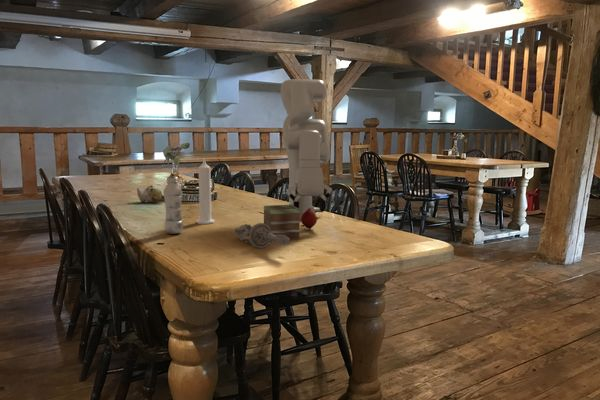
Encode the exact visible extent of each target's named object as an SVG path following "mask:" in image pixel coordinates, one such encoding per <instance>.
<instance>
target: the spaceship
mask: <svg viewBox="0 0 600 400" xmlns="http://www.w3.org/2000/svg"><path fill="white" fill-rule="evenodd" d="M260 230H261V231H260ZM264 230H265V232H264ZM234 232H235V234H236V237H237V238H238V239H239V240H240V242H243V243H249V242H250V243H251V245H252V246H253V247H254V248H257V249H264V248H265V247H267V246H268V245H269V244H270V245H274V242H275V243H279V244H281V245H285V246H289V245H290V244H291V239H289V238H288V237H286V236H283V235H274V234H272V233H271V229H270V228H269V226H268V225H266V224H264V222H257V223H256V224H254V225H253V226H251V224H247V223H246V224H242V225H240V226H239V227H237V228H235V229H234ZM247 236H248V237H249V239H246V238H247ZM245 239H246V240H245Z"/></svg>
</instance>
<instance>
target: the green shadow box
mask: <svg viewBox="0 0 600 400" xmlns="http://www.w3.org/2000/svg"><path fill="white" fill-rule="evenodd" d="M263 223H264V224H266V225H268V226H269V228H270V229H271V233H272V234H274V235H283V236H286V237H288V238H289V239H290V240H300V239H301V238H300V235H301V234H300V232H301V229H300V227H301V226H300V224H301V220H300V209H299V208H297V207H295V206H293V205H289V204H274V205H273V204H271V205H270V204H269V205H263ZM263 232H265V230H264V229H263Z"/></svg>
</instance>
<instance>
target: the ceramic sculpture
mask: <svg viewBox="0 0 600 400" xmlns="http://www.w3.org/2000/svg"><path fill="white" fill-rule="evenodd" d="M136 190H137V193H136V194H137V197H138V198H139V202H141V203H142V202H143V203H145V202H148V203H151V202H156V203H162V202H165V199H164V194H163V193H162V191H161V189H159V188H158V187H154V186H153V185H150V186H149V185H148V186H147V187H146V188H145V189H143V188H140V187H137V188H136Z"/></svg>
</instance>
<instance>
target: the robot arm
mask: <svg viewBox="0 0 600 400" xmlns="http://www.w3.org/2000/svg"><path fill="white" fill-rule="evenodd" d="M280 85H281V86H280V96H281V101H282V105H283V107H284V110H285V112H286V115H287V116H286V117H285V119H284V121H283V125H282V137H283V138H282V139H283V144H284V145H283V146H284V147H285V150H286V156H287V162H288V177H289V178H288V180H289V181H288V182H289V183H288V188H287V189H286V190H285V191H286V193H287V195H288V205H293V206H295V207H297V208H299V209H300V221H301V217H302V214H303V213H304V212H305V211H307V209H308V208H311V211H313V212H314V213H315V214H316V213H323V212H325V209H326V201H327V199H328V198H329V197H330V196H331V193H332V192H333V188H332V187H330V186H328V185H326V184H325V183H324V175H323V169H322V168H321V167H322V166H324V164H327V163H329V160H330V159H331V148H330V147H331V146H330V140H329V132H328V127H327V124H326V122H325V120H323V119H317V118H316V119H314V118H313V119H312V116H313V115H314V113H315V107H314V102H323V101H325V99H326V97H327V86H326V83H325V81H323V80H321V79H312V78H311V79H306V78H305V79H303V78H301V79H300V78H291V79H286V80H284V81H283V82H282V83H281V84H280ZM325 190H326V192H325V193H324V191H325ZM314 196H315V197H319V198H320V200H319V207H315V206H313V197H314Z"/></svg>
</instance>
